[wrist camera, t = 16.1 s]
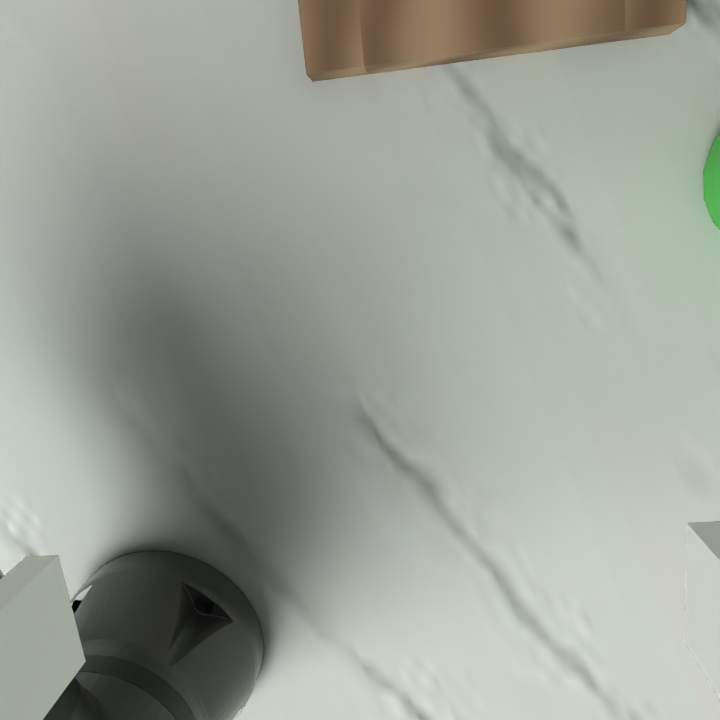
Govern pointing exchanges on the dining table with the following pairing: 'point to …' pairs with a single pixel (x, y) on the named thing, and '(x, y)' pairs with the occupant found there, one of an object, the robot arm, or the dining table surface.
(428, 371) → the dining table surface
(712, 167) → the bottle
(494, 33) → the keyhole board
